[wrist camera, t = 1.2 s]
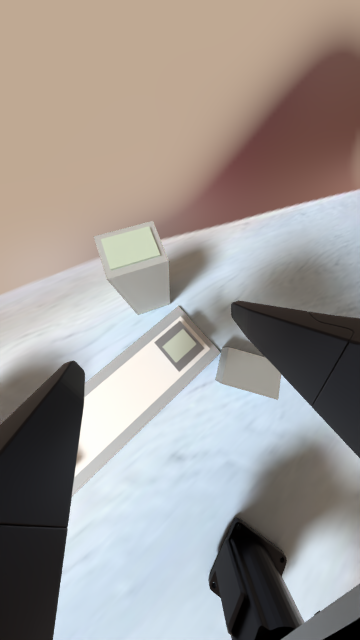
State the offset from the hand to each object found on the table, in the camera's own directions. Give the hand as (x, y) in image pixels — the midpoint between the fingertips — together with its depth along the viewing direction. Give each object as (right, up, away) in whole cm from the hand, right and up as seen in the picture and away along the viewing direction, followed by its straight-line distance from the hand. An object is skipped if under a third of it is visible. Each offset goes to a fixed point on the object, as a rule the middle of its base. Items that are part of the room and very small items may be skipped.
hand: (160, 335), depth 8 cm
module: (-3, +4, +15) cm, 16 cm away
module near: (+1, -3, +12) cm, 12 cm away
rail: (-7, -9, +11) cm, 16 cm away
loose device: (+10, -6, +13) cm, 18 cm away
